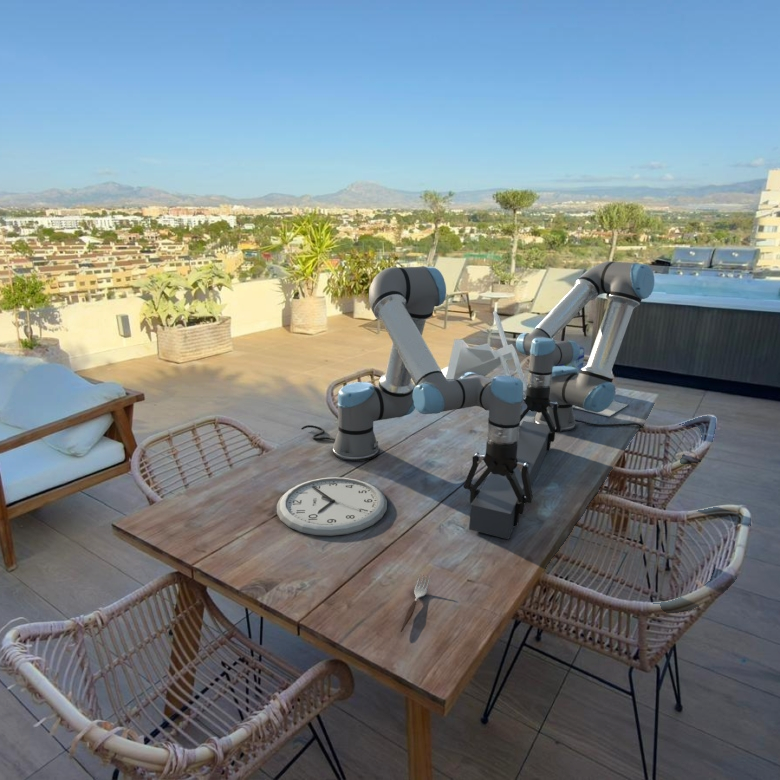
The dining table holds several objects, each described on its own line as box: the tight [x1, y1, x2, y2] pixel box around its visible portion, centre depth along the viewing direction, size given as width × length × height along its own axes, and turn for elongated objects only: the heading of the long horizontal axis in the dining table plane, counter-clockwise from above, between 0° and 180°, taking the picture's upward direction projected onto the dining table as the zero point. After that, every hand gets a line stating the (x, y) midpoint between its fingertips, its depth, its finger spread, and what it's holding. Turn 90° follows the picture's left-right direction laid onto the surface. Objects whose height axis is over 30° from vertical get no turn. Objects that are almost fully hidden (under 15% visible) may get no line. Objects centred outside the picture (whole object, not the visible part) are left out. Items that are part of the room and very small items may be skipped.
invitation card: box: [573, 400, 629, 418], centre depth 226 cm, size 21×1×15 cm
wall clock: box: [276, 476, 388, 537], centre depth 142 cm, size 30×2×30 cm
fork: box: [400, 573, 431, 633], centre depth 105 cm, size 3×16×2 cm, turn 160°
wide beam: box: [468, 420, 550, 540], centre depth 157 cm, size 65×10×7 cm, turn 155°
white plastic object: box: [440, 310, 528, 395], centre depth 245 cm, size 37×45×31 cm
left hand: (495, 518), depth 135 cm, fingers closed on wide beam, 10 cm apart
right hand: (532, 446), depth 180 cm, fingers closed on wide beam, 10 cm apart
